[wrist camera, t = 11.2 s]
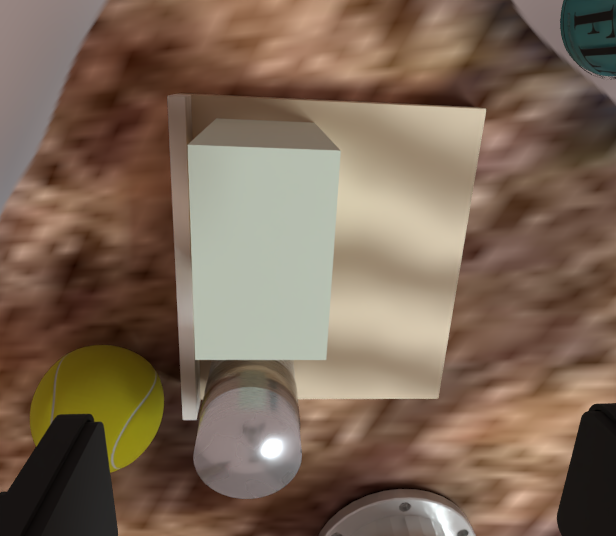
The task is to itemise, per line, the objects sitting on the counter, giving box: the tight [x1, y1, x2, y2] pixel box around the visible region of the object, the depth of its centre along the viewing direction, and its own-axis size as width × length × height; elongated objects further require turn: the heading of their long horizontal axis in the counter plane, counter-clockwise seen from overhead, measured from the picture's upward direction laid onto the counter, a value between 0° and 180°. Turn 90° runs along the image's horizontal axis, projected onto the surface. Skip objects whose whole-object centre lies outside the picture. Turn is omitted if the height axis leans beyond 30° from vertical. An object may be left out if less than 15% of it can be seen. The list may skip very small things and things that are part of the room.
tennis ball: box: [30, 345, 164, 473], centre depth 29 cm, size 7×7×7 cm
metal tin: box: [193, 360, 302, 499], centre depth 27 cm, size 5×5×8 cm
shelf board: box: [167, 93, 486, 420], centre depth 29 cm, size 18×16×4 cm
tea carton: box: [187, 118, 341, 360], centre depth 23 cm, size 5×8×10 cm, turn 177°
